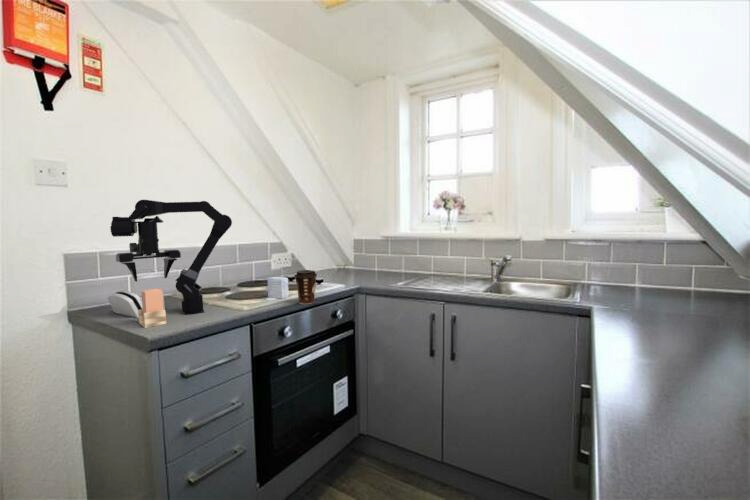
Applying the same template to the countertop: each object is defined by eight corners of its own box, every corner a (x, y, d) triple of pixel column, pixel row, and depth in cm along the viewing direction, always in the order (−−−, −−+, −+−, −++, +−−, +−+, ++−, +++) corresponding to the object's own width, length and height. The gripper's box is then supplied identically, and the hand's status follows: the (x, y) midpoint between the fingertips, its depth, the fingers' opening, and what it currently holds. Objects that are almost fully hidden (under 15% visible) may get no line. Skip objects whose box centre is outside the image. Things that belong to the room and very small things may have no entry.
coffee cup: (312, 299, 151) (312, 269, 150) (321, 303, 144) (320, 271, 143) (293, 302, 146) (292, 270, 145) (300, 306, 140) (299, 273, 138)
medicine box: (288, 297, 156) (288, 277, 156) (282, 299, 152) (281, 279, 152) (274, 295, 160) (274, 276, 159) (267, 297, 156) (267, 278, 155)
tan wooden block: (159, 319, 123) (158, 306, 123) (166, 323, 118) (165, 310, 118) (138, 323, 119) (137, 309, 118) (145, 327, 114) (144, 313, 113)
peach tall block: (161, 317, 122) (159, 288, 121) (165, 319, 119) (163, 289, 118) (143, 320, 118) (141, 290, 117) (147, 323, 115) (145, 292, 115)
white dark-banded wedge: (153, 314, 130) (141, 290, 126) (140, 321, 126) (128, 297, 123) (128, 309, 138) (116, 286, 135) (115, 316, 135) (103, 293, 131)
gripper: (169, 234, 138) (172, 274, 140) (110, 236, 125) (114, 280, 126) (180, 235, 131) (182, 277, 132) (118, 237, 117) (121, 284, 118)
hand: (151, 279), depth 127 cm, fingers open, 9 cm apart
